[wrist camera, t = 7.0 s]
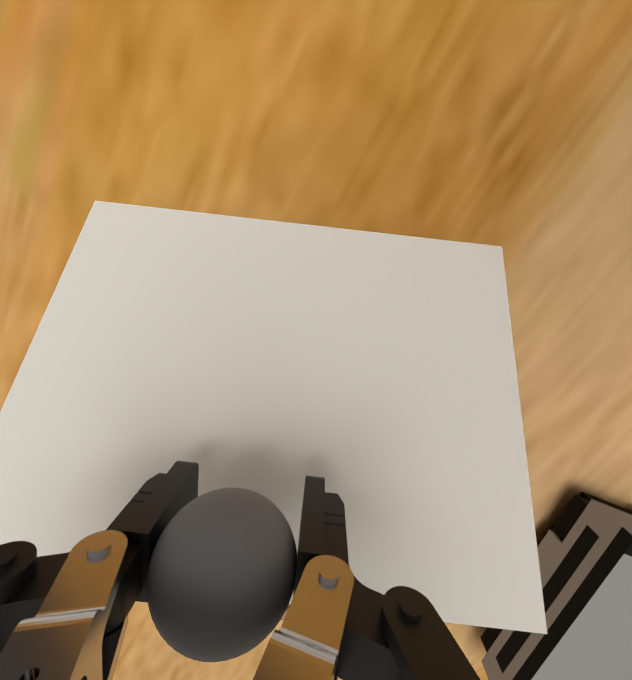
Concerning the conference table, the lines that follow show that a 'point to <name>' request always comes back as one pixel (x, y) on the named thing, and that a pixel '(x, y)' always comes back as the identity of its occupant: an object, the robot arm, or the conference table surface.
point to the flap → (278, 416)
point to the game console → (576, 602)
